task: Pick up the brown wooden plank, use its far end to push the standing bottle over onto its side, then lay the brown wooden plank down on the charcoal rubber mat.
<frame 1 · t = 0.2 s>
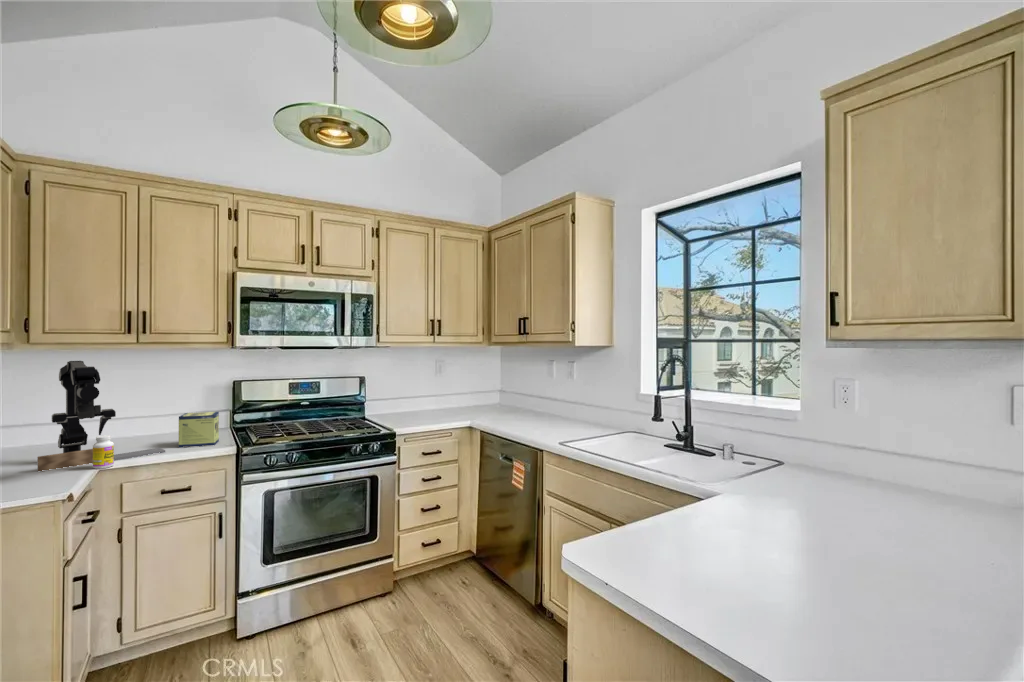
hand: (84, 436, 189), 14 cm above the worktop, tool pointing down, fingers open, 9 cm apart
brown wooden plank: (68, 467, 197), on the worktop
protein box: (199, 444, 237), on the worktop
supplement bottle: (103, 467, 196), on the worktop
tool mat: (133, 455, 215), on the worktop
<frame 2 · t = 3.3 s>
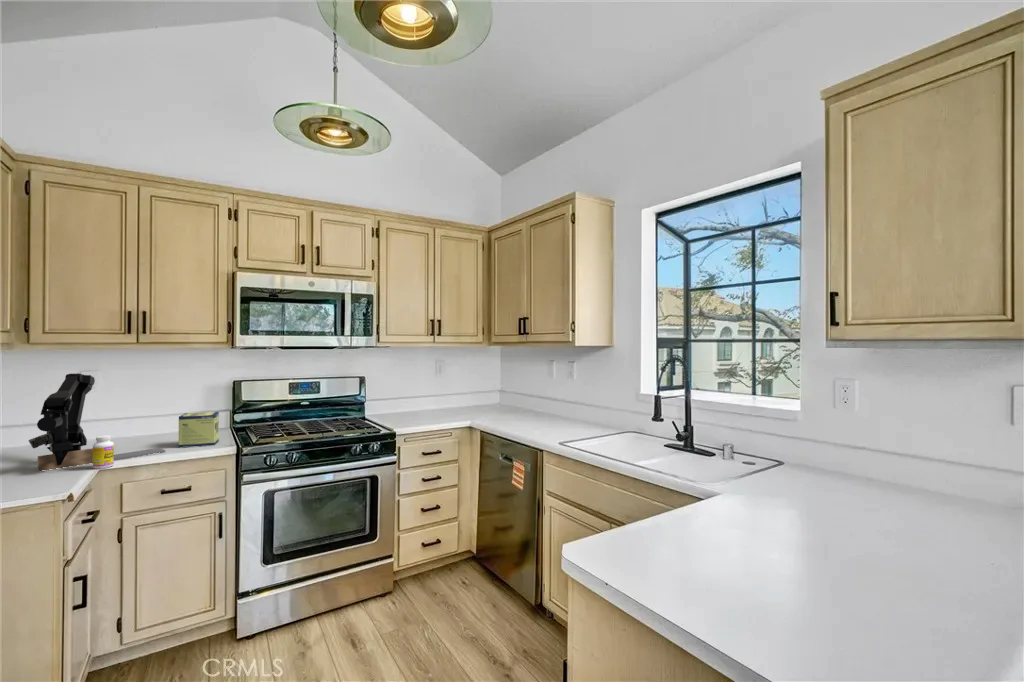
hand: (58, 464, 194), 2 cm above the worktop, tool pointing down, fingers closed on brown wooden plank, 2 cm apart
brown wooden plank: (68, 466, 197), on the worktop, touching gripper
everything else where it was.
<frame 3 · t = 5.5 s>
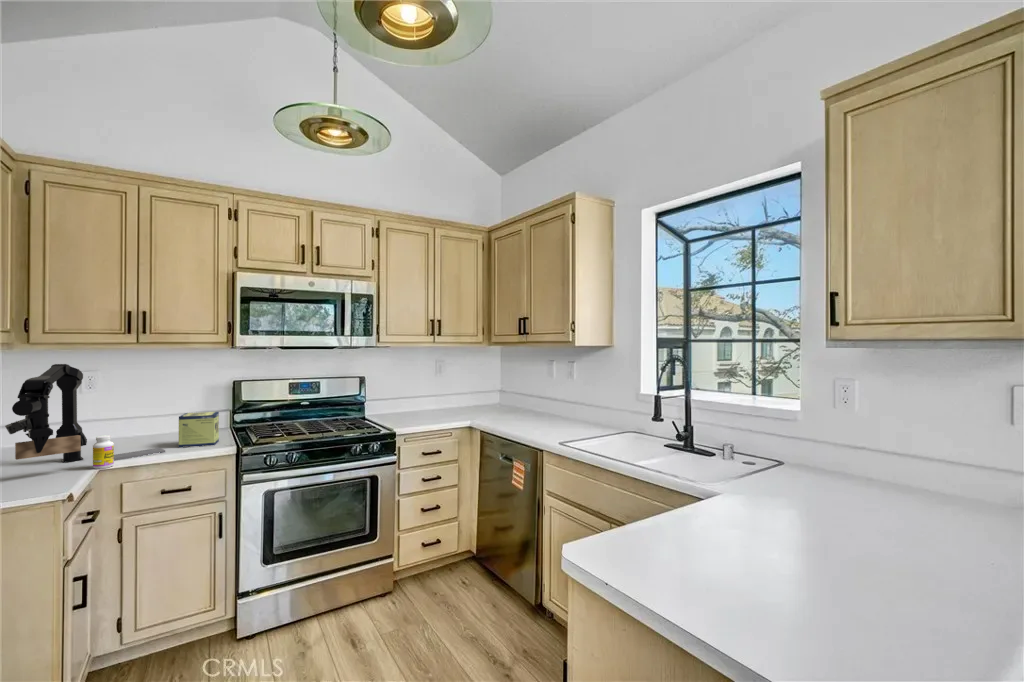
hand: (38, 452, 181), 10 cm above the worktop, tool pointing down, fingers closed on brown wooden plank, 2 cm apart
brown wooden plank: (49, 454, 183), point 8 cm above the worktop, touching gripper
everything else where it was.
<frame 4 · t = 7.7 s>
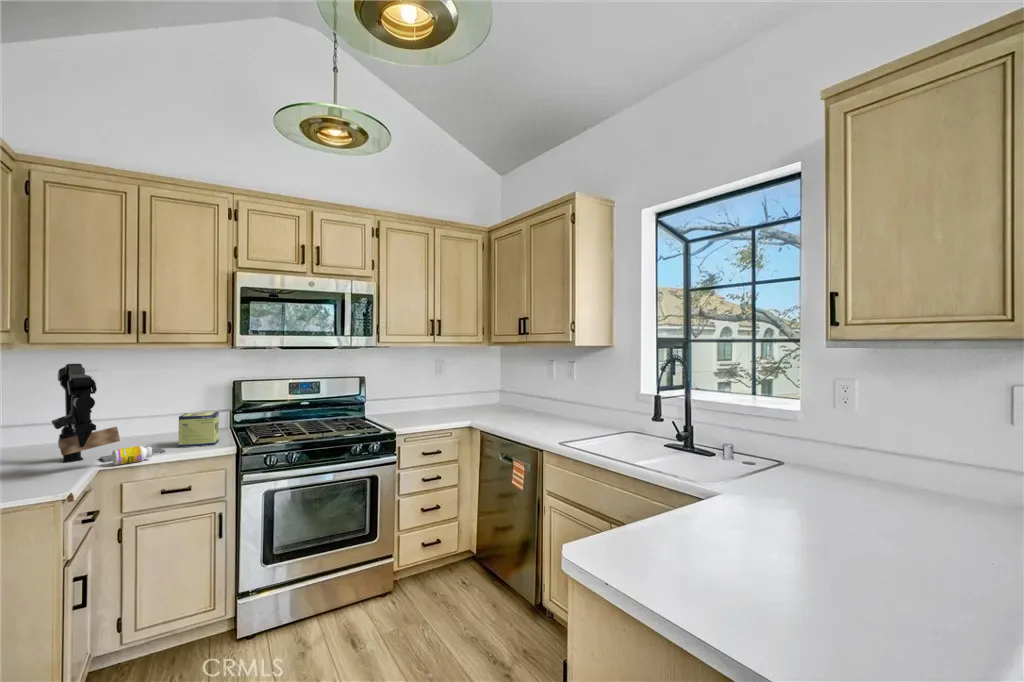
hand: (81, 446, 191), 10 cm above the worktop, tool pointing down, fingers closed on brown wooden plank, 2 cm apart
brown wooden plank: (91, 447, 193), point 9 cm above the worktop, tilted 9°, touching gripper
supplement bottle: (112, 457, 199), point 3 cm above the worktop
everything else where it was.
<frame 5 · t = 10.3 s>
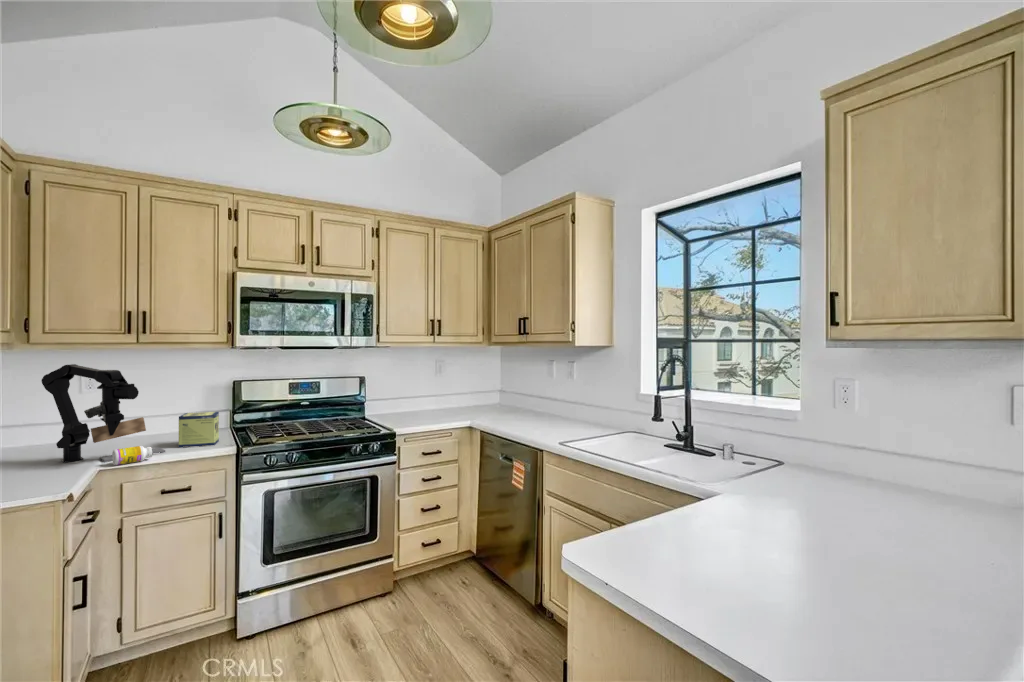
hand: (110, 434, 206), 11 cm above the worktop, tool pointing down, fingers closed on brown wooden plank, 2 cm apart
brown wooden plank: (120, 436, 208), point 10 cm above the worktop, tilted 8°, touching gripper
everything else where it was.
when the fingers open (4 cm above the worktop, at t = 12.7 s): brown wooden plank drops 2 cm, resting on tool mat.
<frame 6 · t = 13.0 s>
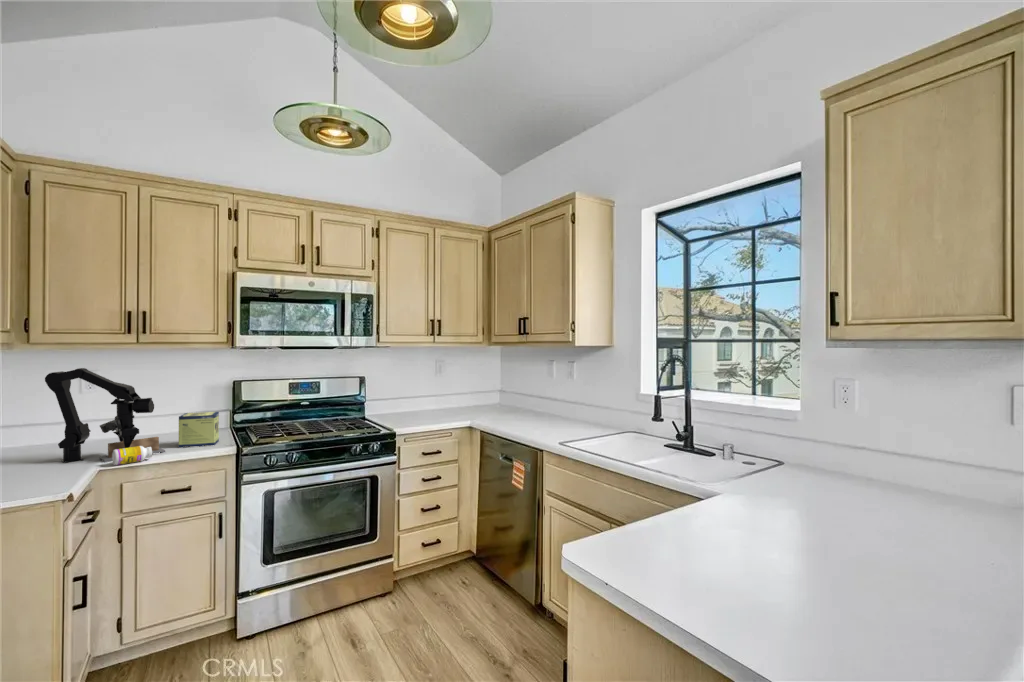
hand: (125, 448, 212), 4 cm above the worktop, tool pointing down, fingers open, 5 cm apart
brown wooden plank: (134, 453, 215), point 1 cm above the worktop, touching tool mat
everything else where it was.
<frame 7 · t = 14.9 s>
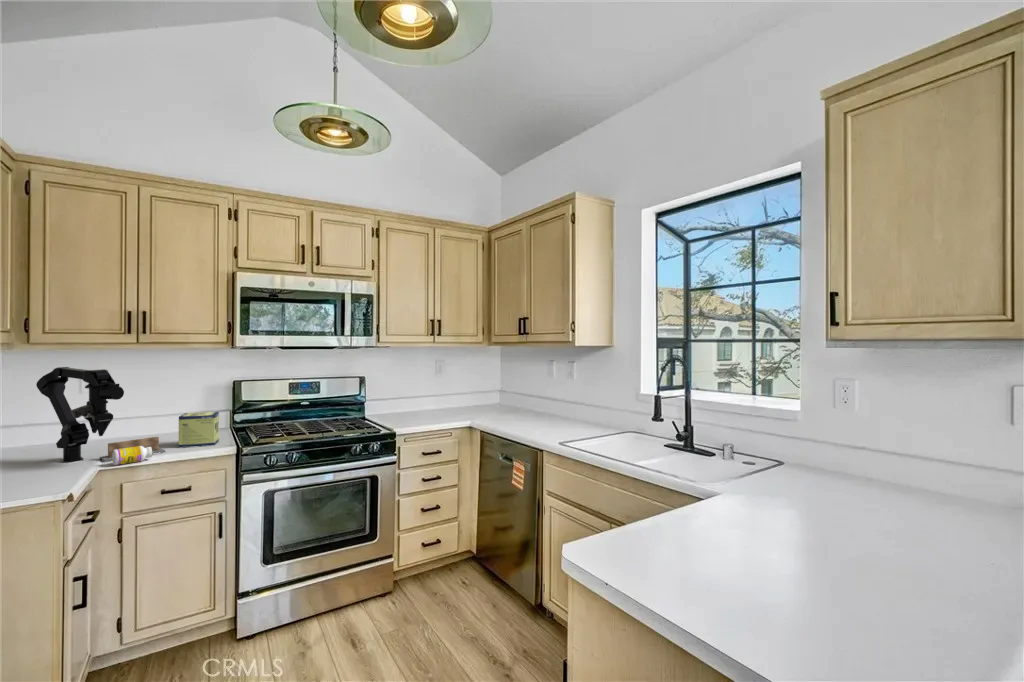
hand: (97, 434, 204), 12 cm above the worktop, tool pointing down, fingers open, 9 cm apart
nothing on the worktop moved.
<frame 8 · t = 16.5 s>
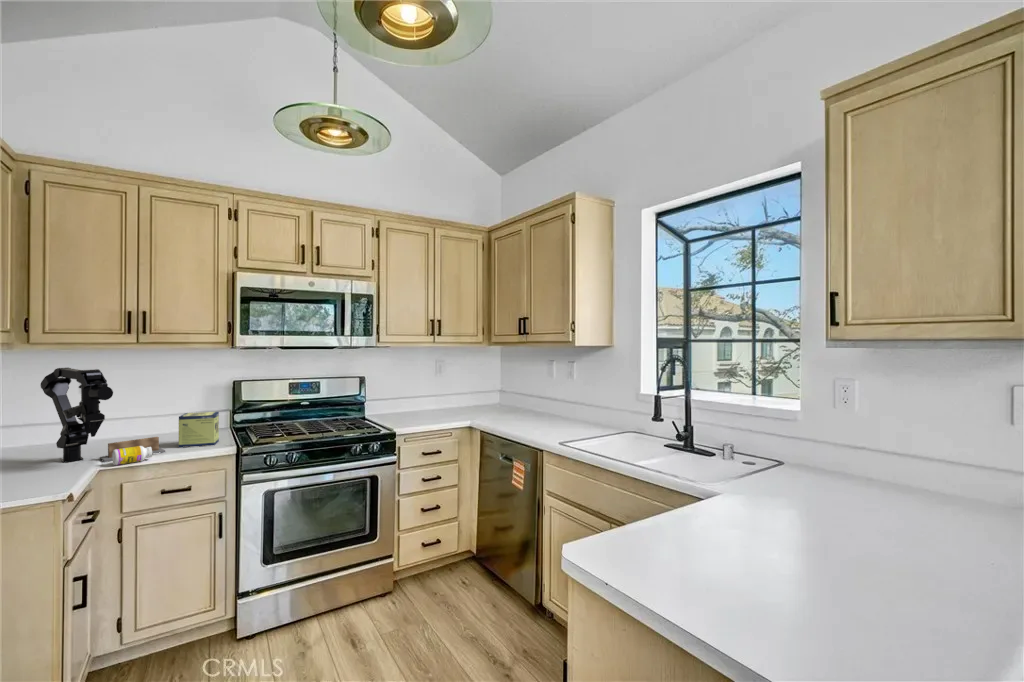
hand: (90, 435, 202), 12 cm above the worktop, tool pointing down, fingers open, 9 cm apart
nothing on the worktop moved.
at the end: supplement bottle tilted 90°; brown wooden plank inside the target area on the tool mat (0.2 cm from its centre), point 1.0 cm above the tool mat's base; the gripper is holding nothing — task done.
